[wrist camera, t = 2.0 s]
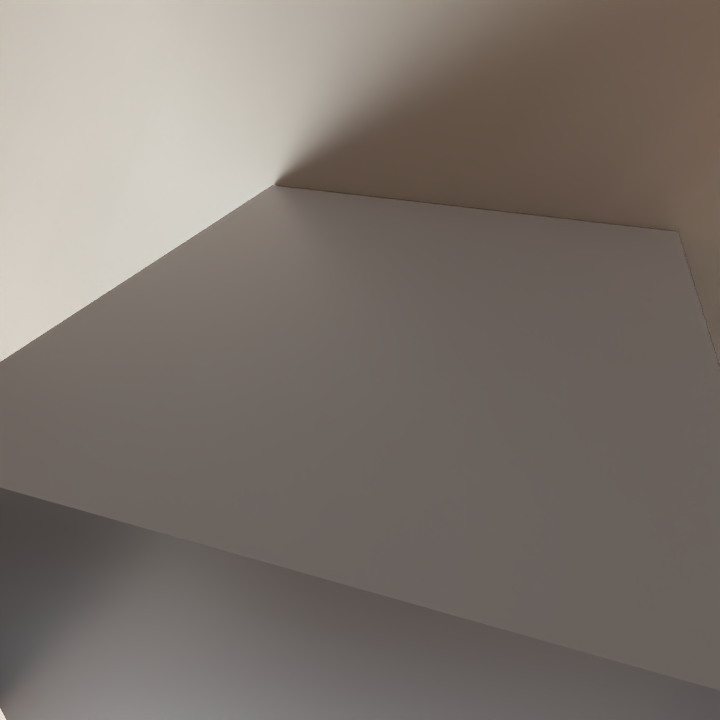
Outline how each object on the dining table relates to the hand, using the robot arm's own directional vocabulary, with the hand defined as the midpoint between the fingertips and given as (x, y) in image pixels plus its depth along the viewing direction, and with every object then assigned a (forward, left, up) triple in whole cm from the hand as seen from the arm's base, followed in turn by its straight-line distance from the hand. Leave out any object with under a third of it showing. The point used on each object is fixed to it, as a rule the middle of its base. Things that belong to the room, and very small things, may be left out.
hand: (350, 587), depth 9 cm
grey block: (0, 0, -6) cm, 6 cm away
